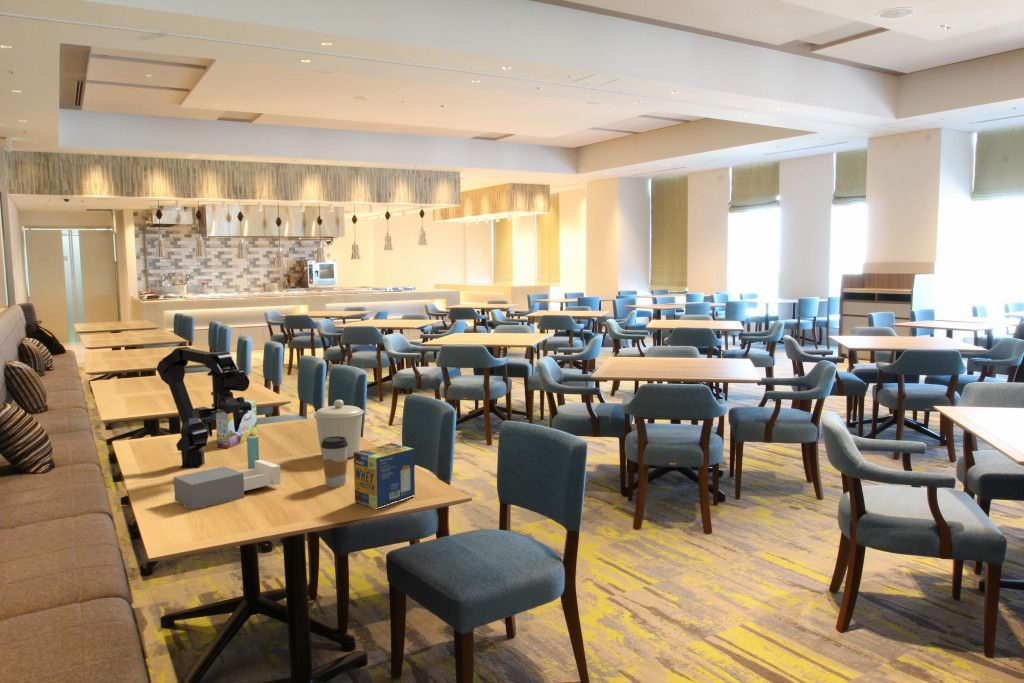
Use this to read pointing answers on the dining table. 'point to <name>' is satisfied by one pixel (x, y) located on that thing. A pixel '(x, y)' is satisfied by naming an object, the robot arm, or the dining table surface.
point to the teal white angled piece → (259, 468)
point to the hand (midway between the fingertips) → (223, 434)
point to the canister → (340, 424)
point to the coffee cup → (335, 460)
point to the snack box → (227, 431)
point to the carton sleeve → (209, 487)
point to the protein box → (384, 474)
